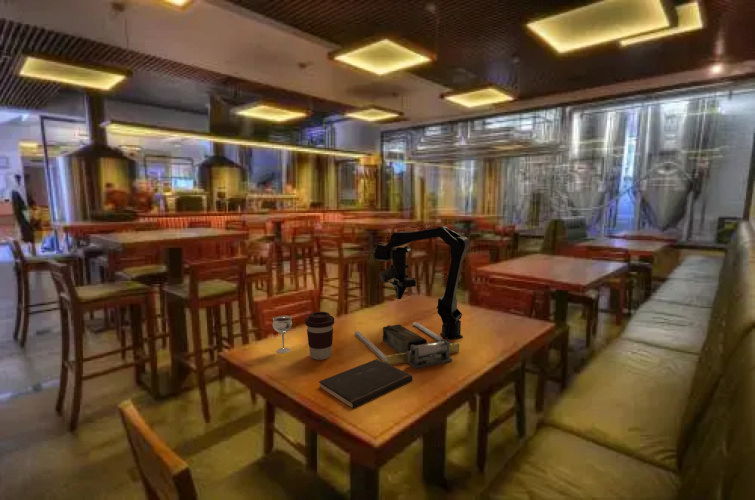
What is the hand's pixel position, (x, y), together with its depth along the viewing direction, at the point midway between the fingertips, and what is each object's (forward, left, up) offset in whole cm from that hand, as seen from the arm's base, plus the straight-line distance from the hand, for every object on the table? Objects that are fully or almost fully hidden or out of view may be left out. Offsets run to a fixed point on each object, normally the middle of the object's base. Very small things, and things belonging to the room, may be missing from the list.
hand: (399, 299), depth 164 cm
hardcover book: (+31, +40, -13) cm, 52 cm away
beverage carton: (+9, +21, -12) cm, 26 cm away
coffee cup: (+38, +15, -12) cm, 43 cm away
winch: (+6, +35, -12) cm, 37 cm away
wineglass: (+49, +5, -12) cm, 51 cm away
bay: (+6, +16, -12) cm, 21 cm away
